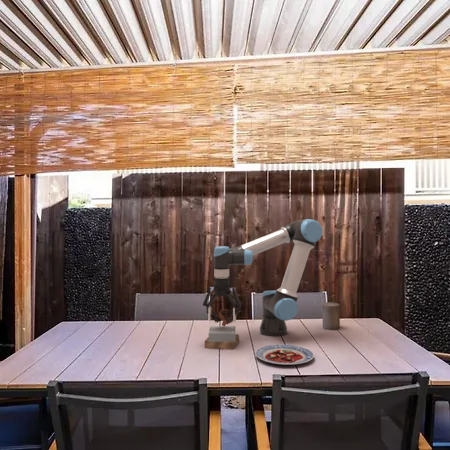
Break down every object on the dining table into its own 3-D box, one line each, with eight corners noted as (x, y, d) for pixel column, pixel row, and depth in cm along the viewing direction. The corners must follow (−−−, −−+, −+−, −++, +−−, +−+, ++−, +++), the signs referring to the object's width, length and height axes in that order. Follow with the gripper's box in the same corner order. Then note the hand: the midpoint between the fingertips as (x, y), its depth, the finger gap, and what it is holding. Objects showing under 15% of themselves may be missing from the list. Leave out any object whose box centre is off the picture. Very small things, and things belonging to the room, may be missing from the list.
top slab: (235, 334, 199) (235, 326, 199) (235, 341, 186) (235, 333, 186) (210, 334, 199) (210, 326, 199) (208, 341, 186) (208, 333, 186)
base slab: (239, 342, 198) (239, 334, 198) (232, 351, 184) (232, 342, 184) (212, 340, 201) (212, 332, 201) (204, 349, 188) (204, 340, 188)
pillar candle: (342, 327, 223) (341, 301, 223) (337, 331, 214) (336, 304, 215) (325, 324, 228) (325, 299, 228) (320, 328, 220) (319, 302, 220)
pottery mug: (232, 321, 200) (236, 309, 196) (230, 334, 191) (235, 322, 187) (209, 316, 199) (213, 304, 195) (207, 328, 191) (211, 316, 187)
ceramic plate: (301, 373, 154) (301, 366, 154) (245, 362, 168) (245, 355, 168) (321, 354, 176) (321, 348, 176) (270, 346, 190) (270, 340, 190)
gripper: (247, 276, 193) (247, 319, 193) (200, 275, 200) (201, 317, 199) (244, 278, 186) (244, 323, 186) (196, 277, 192) (196, 321, 192)
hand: (222, 320), depth 193 cm, fingers closed on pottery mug, 12 cm apart
